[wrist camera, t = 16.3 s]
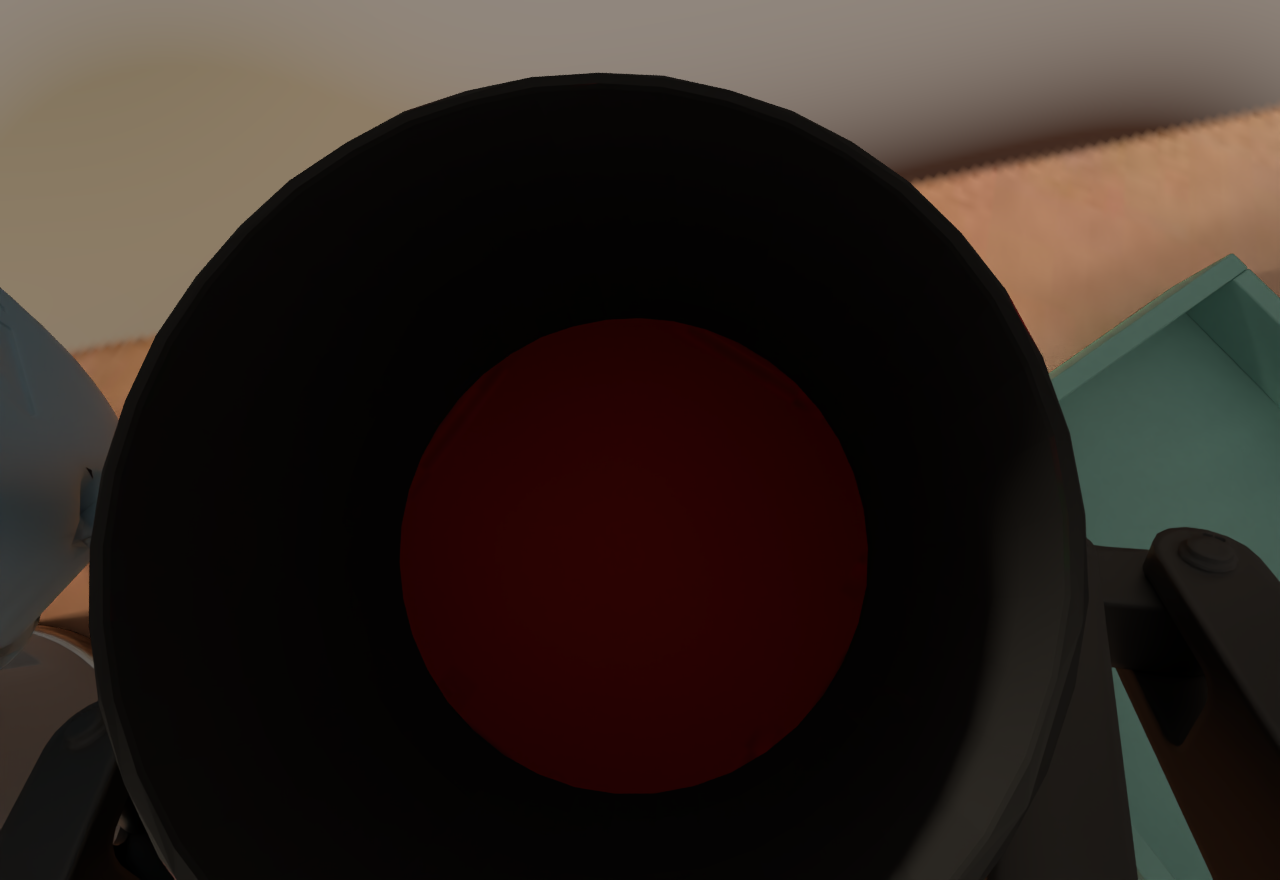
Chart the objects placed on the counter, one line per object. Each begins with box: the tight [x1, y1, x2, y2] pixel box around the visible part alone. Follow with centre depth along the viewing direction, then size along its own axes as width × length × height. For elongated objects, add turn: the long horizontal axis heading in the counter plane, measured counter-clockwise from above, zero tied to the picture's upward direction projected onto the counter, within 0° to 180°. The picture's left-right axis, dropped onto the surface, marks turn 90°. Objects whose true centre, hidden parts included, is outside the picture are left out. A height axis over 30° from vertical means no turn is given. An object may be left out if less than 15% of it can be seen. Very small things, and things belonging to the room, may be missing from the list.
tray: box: [1049, 254, 1280, 880], centre depth 21 cm, size 24×18×3 cm
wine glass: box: [89, 73, 1089, 880], centre depth 15 cm, size 10×10×20 cm
